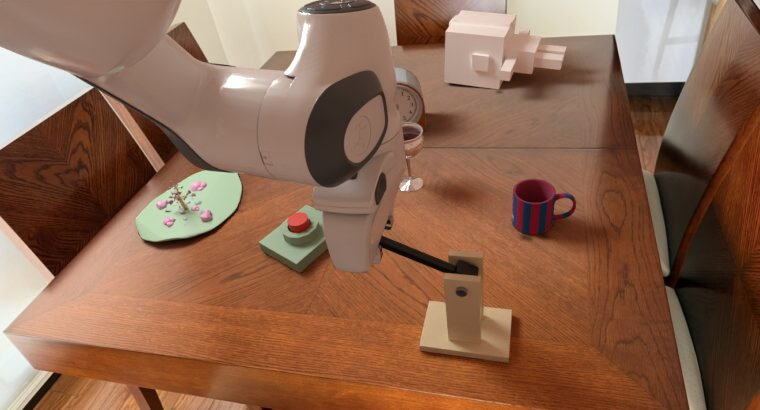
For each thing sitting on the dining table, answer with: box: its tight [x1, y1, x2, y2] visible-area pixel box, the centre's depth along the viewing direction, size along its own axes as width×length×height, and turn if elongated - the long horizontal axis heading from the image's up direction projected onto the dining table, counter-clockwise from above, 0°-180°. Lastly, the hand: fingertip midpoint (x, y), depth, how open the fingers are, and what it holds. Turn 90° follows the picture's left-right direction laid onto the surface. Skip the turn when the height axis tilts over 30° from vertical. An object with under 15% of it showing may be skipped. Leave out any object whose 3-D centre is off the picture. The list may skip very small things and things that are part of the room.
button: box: [287, 212, 310, 233], centre depth 87 cm, size 4×4×2 cm
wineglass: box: [399, 122, 425, 193], centre depth 95 cm, size 7×7×12 cm
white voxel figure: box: [443, 9, 567, 90], centre depth 124 cm, size 15×25×28 cm
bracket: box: [418, 249, 513, 364], centre depth 67 cm, size 12×8×14 cm, turn 76°
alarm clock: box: [395, 66, 428, 132], centre depth 112 cm, size 15×8×14 cm, turn 92°
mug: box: [511, 178, 577, 236], centre depth 83 cm, size 7×10×7 cm
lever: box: [378, 235, 479, 276], centre depth 63 cm, size 16×5×2 cm, turn 76°
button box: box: [258, 204, 328, 274], centre depth 89 cm, size 12×10×4 cm
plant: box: [134, 170, 243, 243], centre depth 101 cm, size 25×21×9 cm
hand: (381, 242), depth 63 cm, fingers open, 5 cm apart
